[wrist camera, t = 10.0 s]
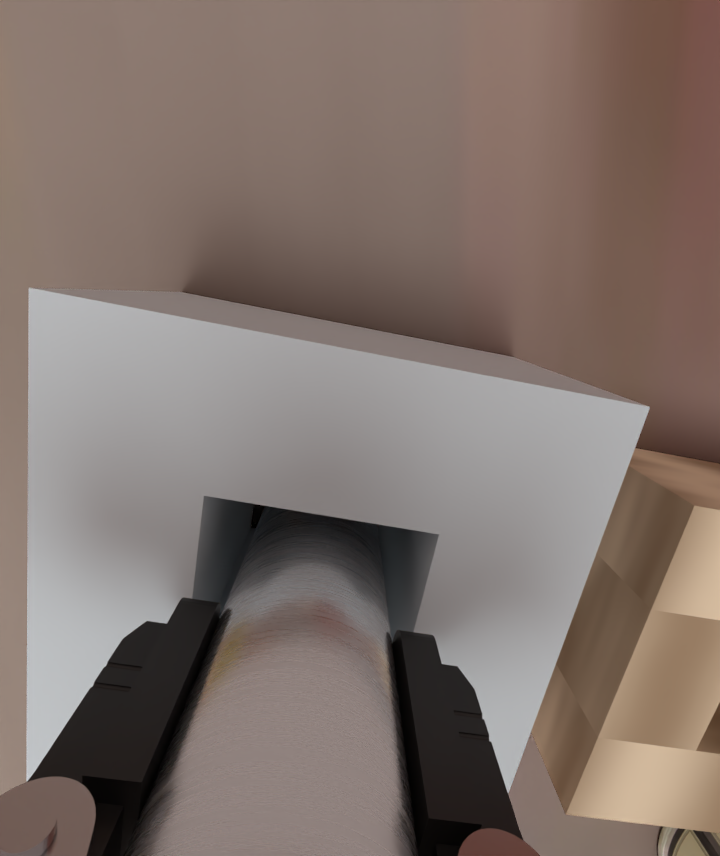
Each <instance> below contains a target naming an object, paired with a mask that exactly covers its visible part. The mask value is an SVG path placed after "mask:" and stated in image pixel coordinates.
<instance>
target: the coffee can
mask: <svg viewBox="0 0 720 856" xmlns="http://www.w3.org/2000/svg"><path fill="white" fill-rule="evenodd" d="M658 856H720V833H713V832H705V831H696V830H688V829H680V828H672V827H663V828H662V830H661V833H660V836H659V842H658Z"/></svg>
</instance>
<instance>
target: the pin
mask: <svg viewBox="0 0 720 856" xmlns="http://www.w3.org/2000/svg"><path fill="white" fill-rule="evenodd" d="M124 856H418V849H417V841H416V833H415V825H414V817H413V809H412V801H411V793H410V785H409V777H408V769H407V760H406V752H405V744H404V736H403V728H402V720H401V712H400V704H399V696H398V688H397V679H396V671H395V663H394V655H393V647H392V639H391V631H390V623H389V615H388V607H387V599H386V590H385V582H384V574H383V566H382V558H381V550H380V542H379V534H378V526H377V524H373V523H367V522H361V521H355V520H349V519H342V518H336V517H330V516H324V515H318V514H312V513H306V512H300V511H294V510H288V509H282V508H276V507H270V506H265V507H264V510H263V512H262V515H261V517H260V520H259V522H258V525H257V527H256V530H255V532H254V535H253V537H252V539H251V542H250V544H249V547H248V549H247V552H246V554H245V557H244V559H243V562H242V564H241V567H240V569H239V572H238V574H237V577H236V579H235V582H234V584H233V586H232V589H231V591H230V594H229V596H228V599H227V601H226V604H225V606H224V609H223V611H222V614H221V616H220V619H219V621H218V624H217V626H216V628H215V631H214V633H213V636H212V638H211V641H210V643H209V646H208V648H207V651H206V653H205V656H204V658H203V661H202V663H201V666H200V668H199V670H198V673H197V675H196V678H195V680H194V683H193V685H192V688H191V690H190V693H189V695H188V698H187V700H186V703H185V705H184V708H183V710H182V712H181V715H180V717H179V720H178V722H177V725H176V727H175V730H174V732H173V735H172V737H171V740H170V742H169V745H168V747H167V750H166V752H165V754H164V757H163V759H162V762H161V764H160V767H159V769H158V772H157V774H156V777H155V779H154V782H153V784H152V787H151V789H150V792H149V794H148V796H147V799H146V801H145V804H144V806H143V809H142V811H141V814H140V816H139V819H138V821H137V824H136V826H135V829H134V831H133V834H132V836H131V838H130V841H129V843H128V846H127V848H126V851H125V853H124Z"/></svg>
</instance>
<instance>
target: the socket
mask: <svg viewBox="0 0 720 856" xmlns="http://www.w3.org/2000/svg"><path fill="white" fill-rule="evenodd" d="M649 409H650V407H649V406H646V405H644V404H641V403H638V402H635V401H633V400H630V399H627V398H624V397H622V396H619V395H616V394H614V393H611V392H608V391H605V390H603V389H600V388H597V387H594V386H592V385H589V384H586V383H583V382H581V381H578V380H575V379H572V378H570V377H567V376H564V375H562V374H559V373H556V372H553V371H551V370H548V369H545V368H542V367H540V366H537V365H534V364H531V363H529V362H526V361H523V360H520V359H518V358H515V357H511V356H506V355H501V354H496V353H490V352H485V351H480V350H475V349H470V348H465V347H460V346H455V345H450V344H444V343H439V342H434V341H429V340H424V339H419V338H414V337H409V336H404V335H399V334H393V333H388V332H383V331H378V330H373V329H368V328H363V327H358V326H353V325H347V324H342V323H337V322H332V321H327V320H322V319H317V318H312V317H307V316H301V315H296V314H291V313H286V312H281V311H276V310H271V309H266V308H261V307H256V306H250V305H245V304H240V303H235V302H230V301H225V300H220V299H215V298H210V297H204V296H199V295H194V294H189V293H184V292H165V291H130V290H95V289H60V288H29V345H28V564H27V781H28V780H29V778H30V777H31V776H32V774H33V773H34V772H35V770H36V769H37V767H38V766H39V764H40V763H41V761H42V760H43V758H44V757H45V755H46V754H47V752H48V751H49V749H50V748H51V746H52V745H53V743H54V742H55V740H56V739H57V737H58V736H59V734H60V733H61V731H62V730H63V728H64V727H65V725H66V724H67V722H68V721H69V719H70V718H71V716H72V715H73V713H74V712H75V710H76V709H77V707H78V706H79V704H80V703H81V701H82V700H83V698H84V697H85V695H86V693H87V692H88V690H89V689H90V687H93V685H94V681H95V680H96V678H97V677H98V675H99V674H100V672H101V671H102V669H103V668H104V667H106V665H107V662H108V660H109V659H110V657H111V656H112V654H113V653H114V651H115V650H116V648H117V647H118V645H119V644H120V642H121V641H122V639H123V638H124V637H126V636H127V635H128V634H130V633H131V632H132V631H134V630H135V629H136V628H138V627H139V626H141V625H142V624H143V623H145V622H146V621H152V622H158V623H165V624H167V623H168V621H169V619H170V617H171V615H172V614H173V612H174V610H175V608H176V606H177V605H178V603H179V601H180V600H181V598H183V597H185V598H191V599H198V600H205V601H212V602H218V603H220V604H221V610H220V616H221V614H222V611H223V609H224V606H225V604H226V601H227V599H228V596H229V594H230V591H231V589H232V586H233V584H234V582H235V579H236V577H237V574H238V572H239V569H240V567H241V564H242V562H243V559H244V557H245V554H246V552H247V549H248V547H249V544H250V542H251V539H252V537H253V535H254V532H255V530H256V528H251V522H252V516H253V509H254V504H257V505H264V506H270V507H276V508H282V509H288V510H294V511H300V512H306V513H312V514H318V515H324V516H330V517H336V518H342V519H349V520H355V521H361V522H367V523H373V524H379V526H378V534H379V542H380V550H381V558H382V566H383V574H384V582H385V590H386V599H387V607H388V615H389V623H390V631H391V639H392V642H393V638H394V635H395V633H396V631H397V630H403V631H410V632H416V633H423V634H430V635H433V636H434V637H435V640H436V643H437V647H438V651H439V655H440V659H441V663H442V664H445V665H452V666H458V668H459V669H460V670H461V672H462V673H463V674H464V676H465V677H466V678H467V680H468V681H469V682H470V684H471V685H472V686H473V688H474V689H475V692H476V695H477V699H478V702H479V705H480V708H481V711H482V719H484V720H485V724H486V727H487V730H488V733H489V741H491V742H492V746H493V749H494V752H495V755H496V758H497V761H498V764H499V767H500V771H501V774H502V777H503V780H504V783H505V786H506V789H507V793H509V790H510V788H511V785H512V782H513V779H514V777H515V774H516V771H517V768H518V766H519V763H520V760H521V758H522V755H523V752H524V749H525V747H526V744H527V741H528V738H529V736H530V733H531V730H532V728H533V725H534V722H535V719H536V717H537V714H538V711H539V708H540V706H541V703H542V700H543V698H544V695H545V692H546V689H547V687H548V684H549V681H550V679H551V676H552V673H553V670H554V668H555V665H556V662H557V659H558V657H559V654H560V651H561V649H562V646H563V643H564V640H565V638H566V635H567V632H568V629H569V627H570V624H571V621H572V619H573V616H574V613H575V610H576V608H577V605H578V602H579V599H580V597H581V594H582V591H583V589H584V586H585V583H586V580H587V578H588V575H589V572H590V569H591V567H592V564H593V561H594V559H595V556H596V553H597V550H598V548H599V545H600V542H601V539H602V537H603V534H604V531H605V529H606V526H607V523H608V520H609V518H610V515H611V512H612V509H613V507H614V504H615V501H616V499H617V496H618V493H619V490H620V488H621V485H622V482H623V480H624V477H625V474H626V471H627V469H628V466H629V463H630V460H631V458H632V455H633V452H634V450H635V447H636V444H637V441H638V439H639V436H640V433H641V430H642V428H643V425H644V422H645V420H646V417H647V414H648V411H649ZM219 619H220V618H219Z"/></svg>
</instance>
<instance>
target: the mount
mask: <svg viewBox="0 0 720 856" xmlns="http://www.w3.org/2000/svg"><path fill="white" fill-rule="evenodd" d="M531 733H532V735H533V737H534V740H535V742H536V745H537V747H538V749H539V752H540V754H541V757H542V759H543V761H544V764H545V766H546V768H547V771H548V773H549V776H550V778H551V780H552V783H553V785H554V788H555V790H556V792H557V795H558V797H559V799H560V802H561V804H562V807H563V809H564V811H565V814H566V815H573V816H581V817H590V818H598V819H606V820H614V821H622V822H631V823H639V824H647V825H655V826H663V827H672V828H680V829H688V830H696V831H705V832H713V833H720V464H719V463H714V462H708V461H703V460H697V459H692V458H687V457H681V456H676V455H670V454H665V453H659V452H654V451H649V450H643V449H638V448H635V450H634V452H633V455H632V458H631V460H630V463H629V466H628V469H627V471H626V474H625V477H624V480H623V482H622V485H621V488H620V490H619V493H618V496H617V499H616V501H615V504H614V507H613V509H612V512H611V515H610V518H609V520H608V523H607V526H606V529H605V531H604V534H603V537H602V539H601V542H600V545H599V548H598V550H597V553H596V556H595V559H594V561H593V564H592V567H591V569H590V572H589V575H588V578H587V580H586V583H585V586H584V589H583V591H582V594H581V597H580V599H579V602H578V605H577V608H576V610H575V613H574V616H573V619H572V621H571V624H570V627H569V629H568V632H567V635H566V638H565V640H564V643H563V646H562V649H561V651H560V654H559V657H558V659H557V662H556V665H555V668H554V670H553V673H552V676H551V679H550V681H549V684H548V687H547V689H546V692H545V695H544V698H543V700H542V703H541V706H540V708H539V711H538V714H537V717H536V719H535V722H534V725H533V728H532V730H531Z"/></svg>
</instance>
